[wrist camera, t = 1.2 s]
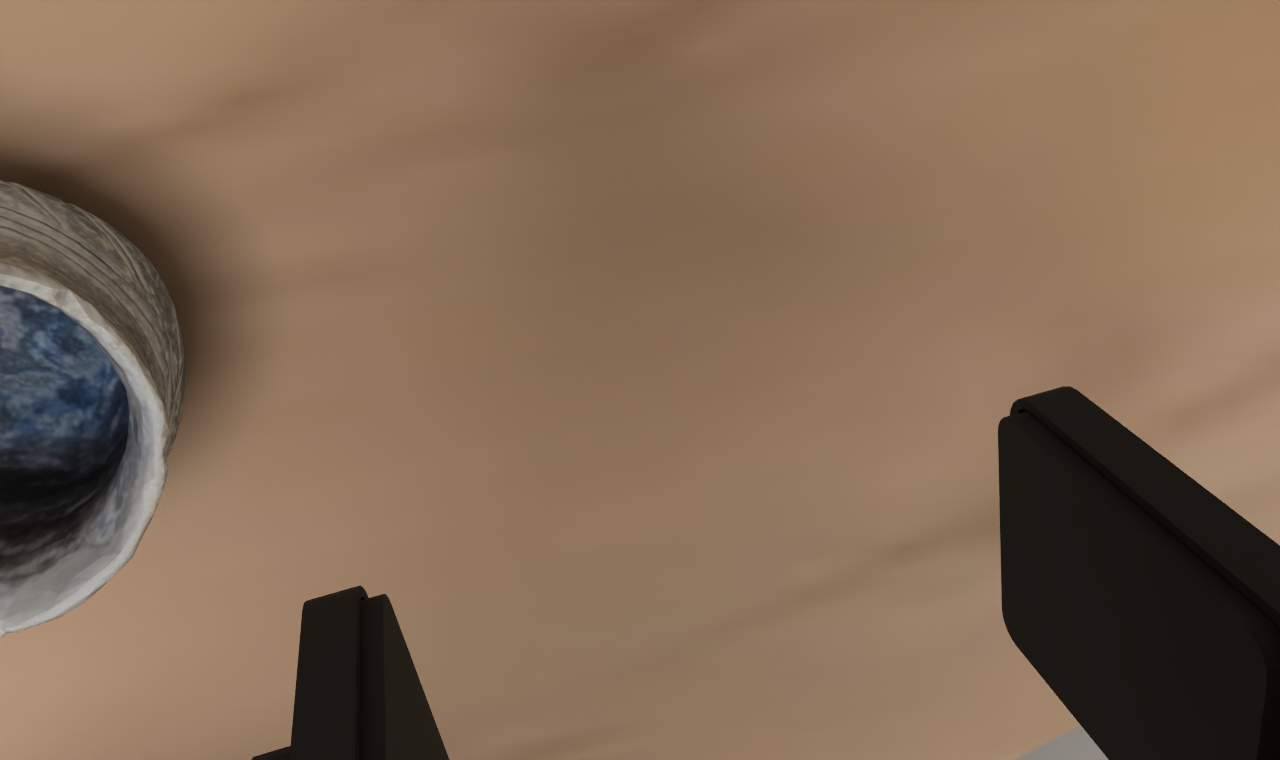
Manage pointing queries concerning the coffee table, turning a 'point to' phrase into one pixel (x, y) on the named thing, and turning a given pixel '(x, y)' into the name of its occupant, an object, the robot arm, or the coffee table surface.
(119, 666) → the coffee table surface
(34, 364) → the mug
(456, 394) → the coffee table surface
